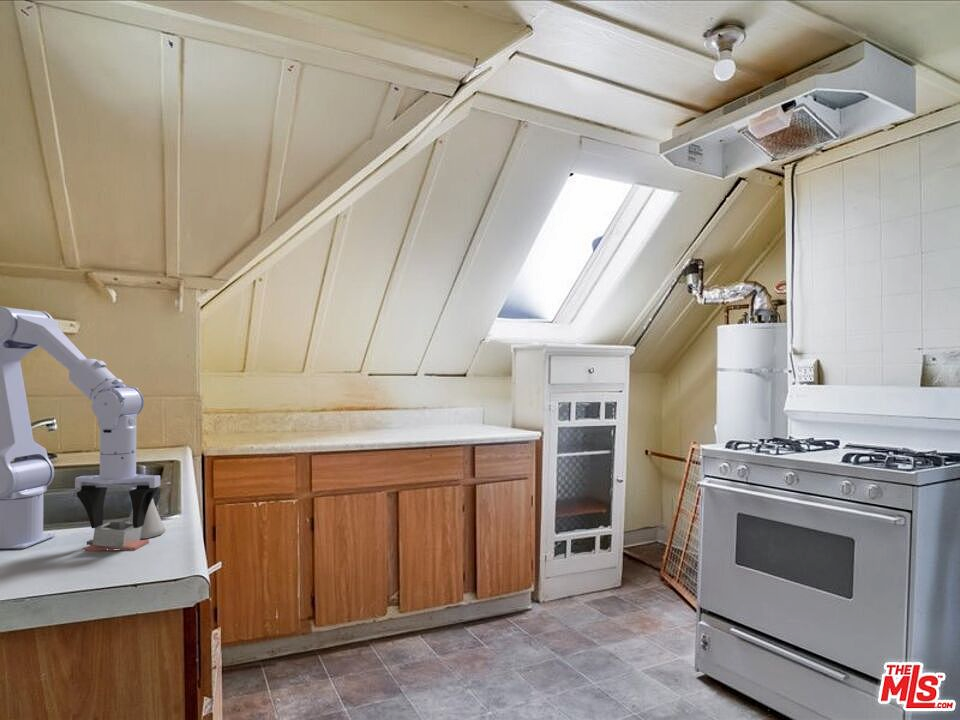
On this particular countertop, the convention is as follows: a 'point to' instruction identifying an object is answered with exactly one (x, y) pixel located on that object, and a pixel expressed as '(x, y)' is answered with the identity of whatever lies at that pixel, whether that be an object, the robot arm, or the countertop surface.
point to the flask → (150, 522)
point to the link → (116, 536)
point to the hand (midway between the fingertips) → (117, 526)
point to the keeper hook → (113, 525)
